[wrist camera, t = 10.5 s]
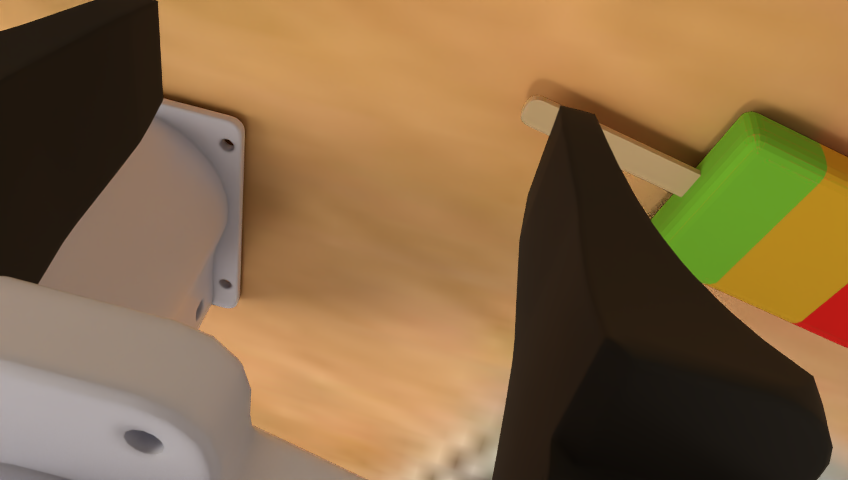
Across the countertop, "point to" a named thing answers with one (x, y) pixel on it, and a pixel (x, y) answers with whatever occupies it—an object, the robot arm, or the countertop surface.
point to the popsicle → (751, 216)
